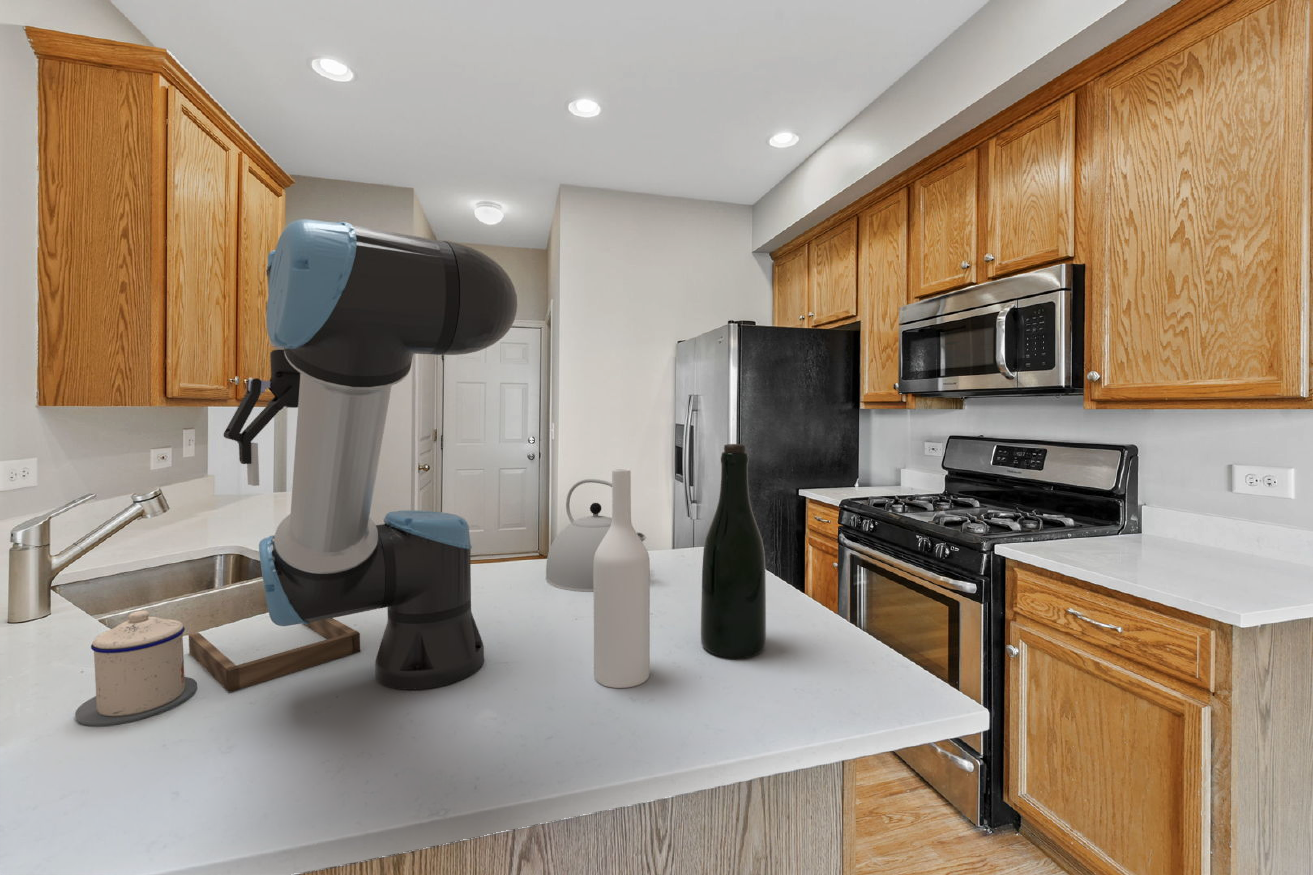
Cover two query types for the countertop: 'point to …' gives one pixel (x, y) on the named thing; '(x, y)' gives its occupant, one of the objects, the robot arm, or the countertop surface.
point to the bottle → (621, 596)
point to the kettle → (578, 548)
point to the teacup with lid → (138, 665)
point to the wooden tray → (276, 656)
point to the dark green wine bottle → (733, 568)
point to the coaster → (92, 717)
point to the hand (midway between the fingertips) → (301, 480)
